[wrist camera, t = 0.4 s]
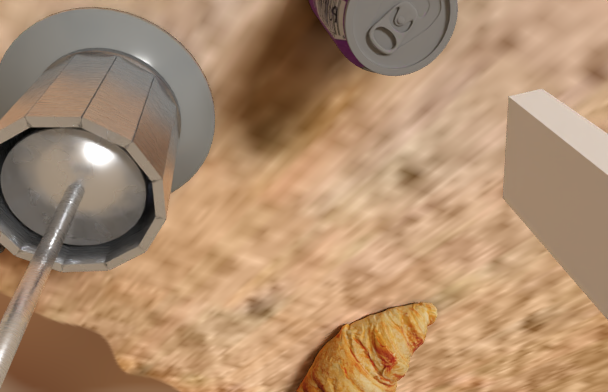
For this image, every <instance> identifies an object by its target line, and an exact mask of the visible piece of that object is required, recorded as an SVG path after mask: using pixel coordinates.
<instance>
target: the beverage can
mask: <svg viewBox="0 0 608 392" xmlns="http://www.w3.org/2000/svg"><path fill="white" fill-rule="evenodd" d="M309 3H310V6H311V8H312V10H313V12H314V13H315V15H316V16H317V18H318V19H319V21H320V22H321V23H322V25H323V26H324V28H325V29H326V31H327V32H328V33H329V35H330V36H331V38H332V39H333V41H334V42H335V44H336V45H337V46H338V48H339V49H340V51H341V52H342V53H343V54H344V56H345V57H346V58H347V59H348V60H349V61H351V62H352V63H353V64H355V65H356V66H358V67H360V68H362V69H364V70H367V71H370V72H374V73H378V74H382V75H387V76H400V75H406V74H410V73H413V72H415V71H418V70H420V69H422V68H423V67H425V66H427V65H428V64H429V63H431V62H432V61H433V60H434V59H435V58H436V57H437V56H438V55H439V54H440V53H441V52H442V51H443V49H444V48H445V47H446V45H447V43H448V42H449V40H450V38H451V36H452V34H453V31H454V28H455V25H456V20H457V12H458V4H457V0H309Z"/></svg>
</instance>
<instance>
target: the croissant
mask: <svg viewBox="0 0 608 392" xmlns="http://www.w3.org/2000/svg"><path fill="white" fill-rule="evenodd" d="M436 318H437V308H435V306H433V305H432V303H425V302H421V303H413V304H410V305H406V306H398V307H394V308H390V309H387V310H386V311H383V312H380V313H377V314H374V315H369V316H367V317H366V318H364V319H361V320H358V321H355V322H353V323H351V324H350V325H349V324H346V325H344V326H342V328H341V330H340V331H339V333H338V334H337V335H336V336H335V337H334V338H332V339H331V340H330V341H329V342H327V343H326V345H325V346H324V347H323V348H322V349H321V350H320V351H319V353H318V354H317V356H316V357H315V360H314V362H313V365H312V366H311V367H310V369H309V371H308V373H307V375H306V376H305V378H304V380H303V382H302V383H301V384H300V386H299V388H298V389H297V391H296V392H395V391H396V387H397V382H396V381H398V380H400V379H401V378H402V377H404V376H405V373H406V372H407V371H408V368H409V361H410V357H411V356H412V355H413V352H414V351H415V350H416V349H417V348H418V347H419V346H420V345H422V344H423V342H424V340H425V337H426V333H427V326H429V325H431V324H433V323H434V321H435V320H436Z"/></svg>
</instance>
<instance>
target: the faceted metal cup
mask: <svg viewBox="0 0 608 392" xmlns="http://www.w3.org/2000/svg"><path fill="white" fill-rule="evenodd" d="M41 127H81V128H83V129H85V130H87V131H89V132H91V133H94V134H96V135H98V136H100V137H102V138H104V139H106V140H109V141H111V142H113V143H115V144H117V145H119V146H121V147H124V148H125V149H126V150H127V151H128V152H129V154H130V155H131V156H132V157H133V159H134V160H135V161H136V162H137V164H138V165H139V166H140V167H141V169H142V170H143V171H144V172H145V175H146V180H147V198H146V203H145V206H144V210H143V213H142V215H141V217H140V218H139V220H138V221H137V223H136V224H135V225H134V226H133V227H132V228H131V229H130V230H129V231H128V232H126V233H125V234H124V235H122V236H120V237H119V238H116V239H114V240H112V241H109V242H105V243H102V244H96V245H71V244H65V243H63V244H62V247H61V249H60V251H59V254H58V256H57V258H56V261H55V263H54V265H53V267H52V269H54V270H56V271H59V272H61V271H62V272H84V271H108V270H111V269H113V268H115V267H117V266H119V265H121V264H123V263H125V262H127V261H129V260H131V259H133V258H135V257H137V256H139V255H141V254H143V253H145V252H146V251H147V250H148V248H149V246H150V245H151V243H152V242H153V240H154V238H155V237H156V235H157V233H158V232H159V230H160V229H161V227H162V225H163V224H164V222H165V220H166V217H167V211H168V204H169V198H170V192H171V186H172V179H173V173H174V167H175V161H176V155H177V148H178V142H179V138H180V132H181V112H180V108H179V104H178V101H177V99H176V96H175V94H174V92H173V90H172V89H171V87H170V85H169V84H168V83H167V81H166V80H165V79H164V78H163V77H162V76H161V75H160V74H159V73H158V72H157V71H156V70H155V69H154V68H153V67H151V66H150V65H149V64H147V63H146V62H144V61H143V60H141V59H139V58H137V57H135V56H133V55H131V54H128V53H125V52H122V51H119V50H114V49H109V48H86V49H80V50H77V51H73V52H70V53H68V54H66V55H64V56H62V57H60V58H59V59H57V60H56V61H54V62H53V63H52V64H51V65H50V66H49V67H48V68H47V69H46V70H45V71H44V72H43V73H42V74H41V76H40V77H39V78H38V79H37V80H36V81H35V82H34V84H33V85H32V86H31V87H30V88H29V89H28V90H27V91H26V92H25V93H24V95H23V96H22V97H21V98H20V99H19V100H18V101H17V102H16V103H15V104H14V105H13V107H12V108H11V109H10V110H9V111H8V112H7V113H6V114H5V115H4V116H3V118H2V119H1V120H0V253H1V252H3V251H4V249H5V248H6V249H8V250H9V251H10V252H11V253H12V254H13V255H16V257H19V258H22V259H25V260H28V261H31V259H32V257H33V255H34V253H35V251H36V249H37V247H38V245H39V243H40V241H41V239H42V237H43V236H42V235H40V234H38V233H36V232H34V231H33V230H31V229H30V228H28V227H27V226H26V225H25V224H24V223H22V222H21V221H20V220H19V219H18V218H17V217H16V216H15V215H14V213H13V212H12V210H11V209H10V208H9V206H8V204H7V202H6V201H5V198H4V195H3V193H2V188H1V170H2V166H3V163H4V161H5V159H6V157H7V155H8V154H9V152H10V151H11V150H12V148H13V147H14V146H15V145H16V143H17V142H18V141H19V140H20V139H21V138H23V137H24V136H25V135H27V134H28V133H30V132H31V131H34V130H36V129H38V128H41Z"/></svg>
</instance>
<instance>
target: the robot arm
mask: <svg viewBox="0 0 608 392" xmlns="http://www.w3.org/2000/svg"><path fill="white" fill-rule="evenodd" d="M503 199H504V200H505V201H506V202H507V203H508V205H509V206H510V207H511V208H512V209H513V210H514V212H515V213H516V214H517V215H518V216H519V217H520V219H521V220H522V221H523V222H524V223H525V224H526V225H527V227H528V228H529V229H530V230H531V231H532V232H533V234H534V235H535V236H536V237H537V238H538V239H539V241H540V242H541V243H542V244H543V245H544V246H545V248H546V249H547V250H548V251H549V252H550V253H551V254H552V256H553V257H554V258H555V259H556V260H557V261H558V263H559V264H560V265H561V266H562V267H563V268H564V270H565V271H566V272H567V273H568V274H569V275H570V277H571V278H572V279H573V280H574V281H575V282H576V284H577V285H578V286H579V287H580V288H581V289H582V290H583V292H584V293H585V294H586V295H587V296H588V297H589V299H590V300H591V301H592V302H593V303H594V304H595V306H596V307H597V308H598V309H599V310H600V311H601V313H602V314H603V315H604V316H605V317H606V318H607V319H608V134H607V133H606V132H604V131H603V130H601V129H600V128H599V127H597V126H596V125H594V124H593V123H591V122H590V121H588V120H587V119H585V118H584V117H583V116H581V115H580V114H578V113H577V112H575V111H574V110H572V109H571V108H569V107H568V106H567V105H565V104H564V103H562V102H561V101H559V100H558V99H556V98H555V97H553V96H552V95H551V94H549V93H548V92H546V91H545V90H543V89H539V90H535V91H530V92H526V93H521V94H517V95H513V96H509V97H508V115H507V132H506V150H505V167H504V185H503Z"/></svg>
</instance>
